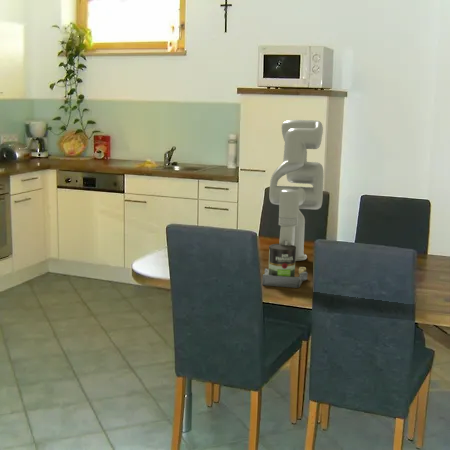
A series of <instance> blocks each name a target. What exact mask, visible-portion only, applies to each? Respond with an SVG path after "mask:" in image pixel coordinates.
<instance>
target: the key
mask: <svg viewBox="0 0 450 450" xmlns="http://www.w3.org/2000/svg"><path fill="white" fill-rule="evenodd" d="M303 272H307V267H305V266H298V274H299V275H300V273H303Z"/></svg>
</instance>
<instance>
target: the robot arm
mask: <svg viewBox="0 0 450 450" xmlns="http://www.w3.org/2000/svg"><path fill="white" fill-rule="evenodd" d="M323 133H324V127H323V123H322V122H321V121H319V120H308V119H307V120H306V119H305V120H304V119H290V120H289V119H288V120H285V121H284V122H282V124H281V134H282V137H283V138H282V139H283V142H284V147H283V149H284V150H283V160H282V162H281V164H280V165H279V166H278V167H277V168H276V169H275V170H274V172H273V173H272V175H271V178H270V184H269V191H268V194H269V197H268V198H269V201H270V203H271V204H272V205H277V206H278V210H279V211H278V226H280V231H279V243H278V244H279V245H284V244H285V245H288V246H291V245H294V246H296V256H295V262H300V261H301V262H302V261H305V260H307V258H308V256H307V254H306V253H304V250H305V247H304V245H305V224H306V219H305V216H304V214H303V213H302V211H301V210H319V209H321V208H322V205H323V197H324V196H323V194H324V168H323V165H322V164H321V163H320V162H316V161H315V162H314V161H308V150H319V148H320V146H321V145H322V140H323V138H322V137H323V135H324V134H323ZM285 175H286V180H287V182H289V183H291V184H298V185H300V184H302V185H306V184H307V185H312V186H295V185H294V186H291V185H290V186H289V185H288V186H287V185H278V183H279V180H280V179H281V178H283V176H285Z"/></svg>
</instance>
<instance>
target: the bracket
mask: <svg viewBox="0 0 450 450" xmlns="http://www.w3.org/2000/svg"><path fill="white" fill-rule="evenodd" d="M261 280H262V281H261V282H262V283H261V285H262V286H268V287H269V286H270V287H280V288H281V287H282V288H291V289H292V288H294V289H300V287H301V285H302V283H303V282H304V281H307V280H308V271H304V272H303V273H300V274H299V276H295V277H292V276H279V275H269V268H264V274H262V279H261Z"/></svg>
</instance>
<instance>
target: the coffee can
mask: <svg viewBox="0 0 450 450" xmlns="http://www.w3.org/2000/svg"><path fill="white" fill-rule="evenodd" d="M268 249H269V252H268V270H269V275H279V276H292V277H296V274H295V273H296V272H295V270H296V261H295V256H296V246H294V245H291V246H288V245H285V244H284V245H279V243H273V244H270V245H269V246H268Z"/></svg>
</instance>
